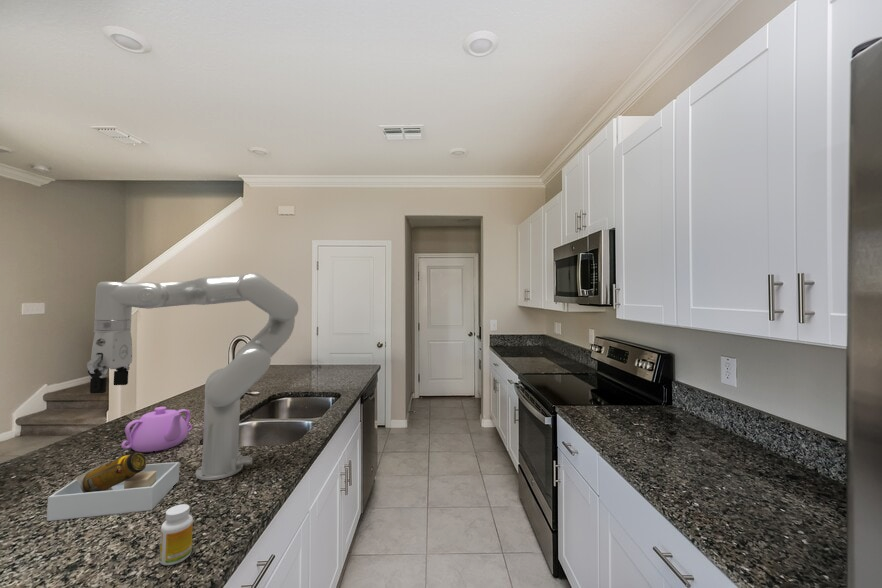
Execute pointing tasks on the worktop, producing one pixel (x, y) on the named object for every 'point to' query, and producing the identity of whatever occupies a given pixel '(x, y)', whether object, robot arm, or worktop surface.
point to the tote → (112, 496)
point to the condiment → (111, 473)
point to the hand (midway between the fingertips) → (109, 388)
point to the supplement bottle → (176, 535)
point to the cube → (141, 480)
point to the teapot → (157, 430)
